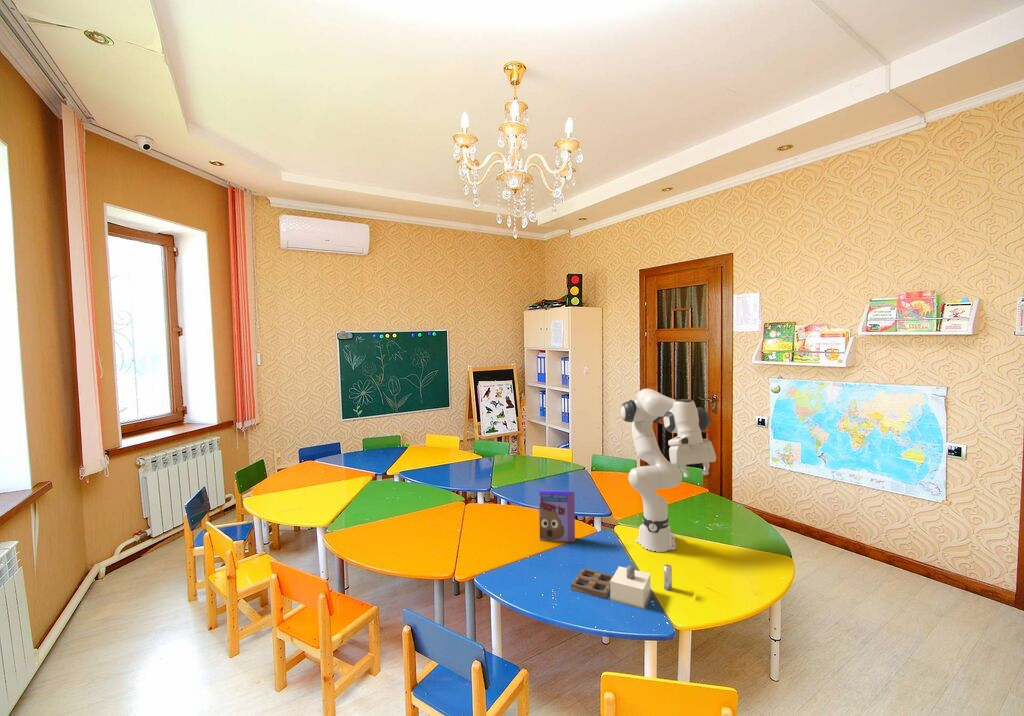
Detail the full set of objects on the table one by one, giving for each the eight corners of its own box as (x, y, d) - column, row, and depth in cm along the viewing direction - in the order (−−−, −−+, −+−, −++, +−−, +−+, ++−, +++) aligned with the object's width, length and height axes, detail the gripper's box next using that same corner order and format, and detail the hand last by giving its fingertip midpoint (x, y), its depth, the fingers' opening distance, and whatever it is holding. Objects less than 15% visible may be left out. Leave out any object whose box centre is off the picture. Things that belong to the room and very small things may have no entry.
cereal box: (539, 540, 221) (538, 493, 220) (540, 536, 226) (539, 490, 225) (574, 542, 219) (574, 494, 218) (574, 537, 223) (574, 491, 222)
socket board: (583, 574, 189) (583, 568, 188) (615, 583, 182) (615, 576, 182) (571, 591, 176) (571, 584, 176) (605, 601, 170) (605, 593, 169)
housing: (619, 582, 180) (619, 556, 180) (650, 590, 174) (650, 563, 174) (610, 598, 169) (610, 570, 169) (643, 608, 163) (643, 579, 163)
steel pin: (664, 588, 178) (664, 563, 177) (672, 590, 176) (672, 565, 176) (663, 591, 175) (663, 567, 175) (671, 593, 174) (671, 569, 173)
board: (617, 583, 181) (617, 569, 181) (652, 592, 175) (652, 578, 174) (607, 602, 169) (607, 586, 169) (645, 612, 162) (645, 596, 162)
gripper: (704, 438, 180) (710, 473, 177) (664, 441, 172) (670, 478, 169) (716, 437, 175) (723, 473, 171) (675, 440, 167) (682, 478, 164)
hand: (696, 475), depth 170 cm, fingers open, 8 cm apart
